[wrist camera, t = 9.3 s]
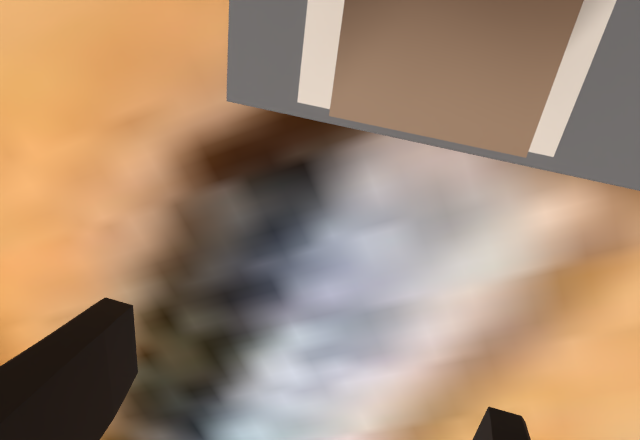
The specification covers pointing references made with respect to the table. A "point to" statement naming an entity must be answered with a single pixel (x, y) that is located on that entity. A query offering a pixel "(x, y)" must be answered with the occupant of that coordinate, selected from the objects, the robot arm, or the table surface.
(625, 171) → the mat
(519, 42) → the banded brown carton
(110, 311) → the robot arm
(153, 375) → the table surface
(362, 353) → the table surface
